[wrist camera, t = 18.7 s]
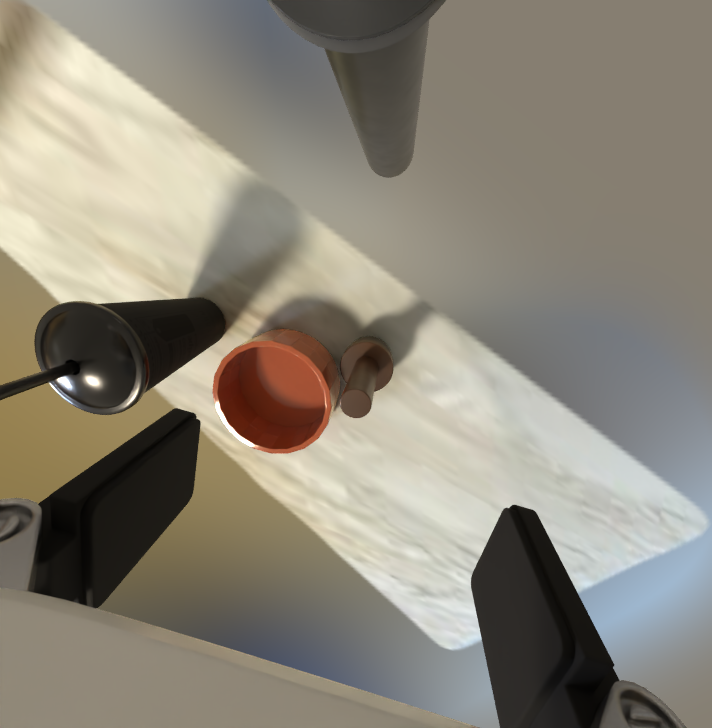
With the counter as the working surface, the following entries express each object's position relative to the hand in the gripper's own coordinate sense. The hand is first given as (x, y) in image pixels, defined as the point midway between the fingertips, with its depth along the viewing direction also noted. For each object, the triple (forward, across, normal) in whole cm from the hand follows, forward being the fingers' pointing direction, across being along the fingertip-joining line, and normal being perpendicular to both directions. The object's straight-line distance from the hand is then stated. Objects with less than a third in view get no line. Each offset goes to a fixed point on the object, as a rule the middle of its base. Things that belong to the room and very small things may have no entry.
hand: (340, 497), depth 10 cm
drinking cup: (+24, +18, +4) cm, 31 cm away
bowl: (+24, +8, +8) cm, 27 cm away
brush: (+24, 0, +3) cm, 25 cm away
